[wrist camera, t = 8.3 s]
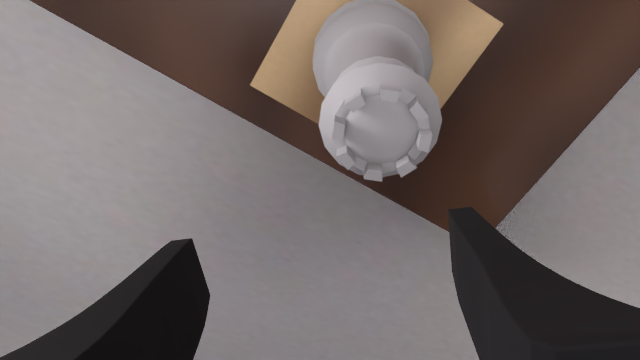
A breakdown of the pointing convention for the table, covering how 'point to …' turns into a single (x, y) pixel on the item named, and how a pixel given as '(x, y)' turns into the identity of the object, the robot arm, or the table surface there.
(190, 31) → the cutting board
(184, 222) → the table surface
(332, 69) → the rook chess piece
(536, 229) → the table surface
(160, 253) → the robot arm
